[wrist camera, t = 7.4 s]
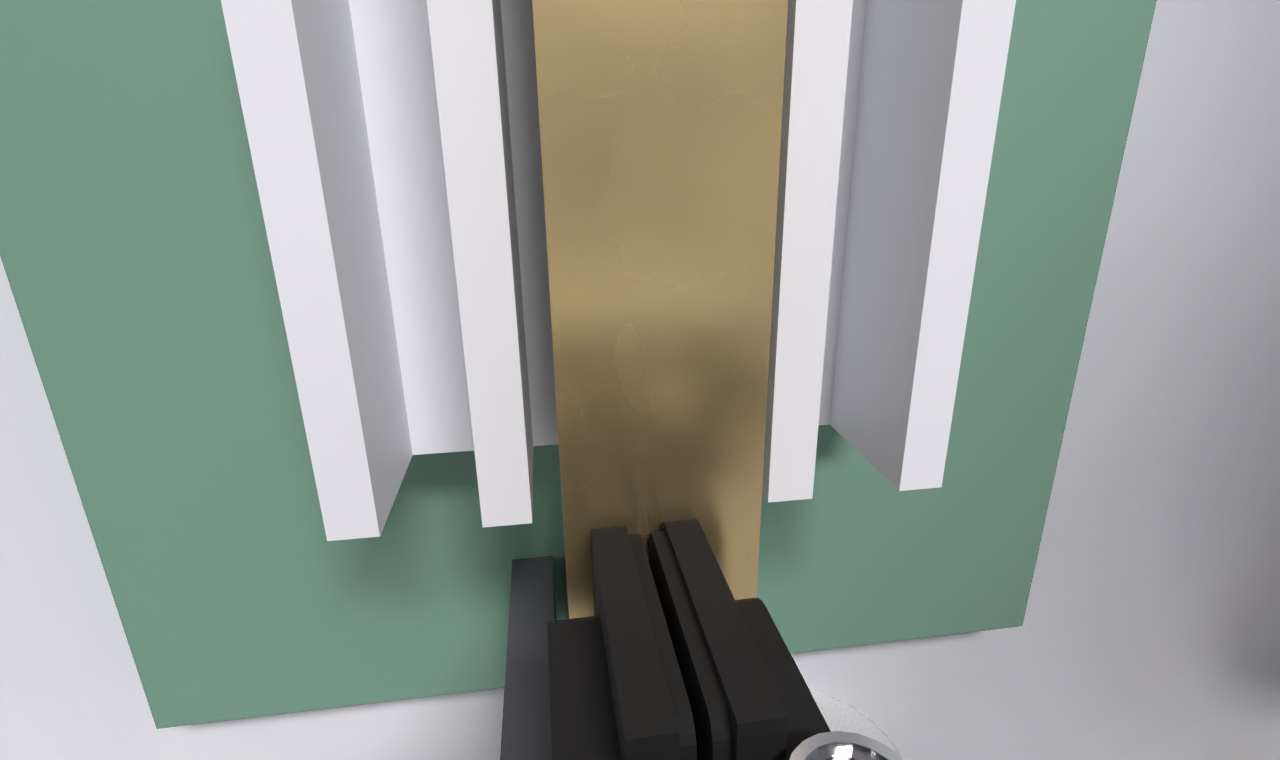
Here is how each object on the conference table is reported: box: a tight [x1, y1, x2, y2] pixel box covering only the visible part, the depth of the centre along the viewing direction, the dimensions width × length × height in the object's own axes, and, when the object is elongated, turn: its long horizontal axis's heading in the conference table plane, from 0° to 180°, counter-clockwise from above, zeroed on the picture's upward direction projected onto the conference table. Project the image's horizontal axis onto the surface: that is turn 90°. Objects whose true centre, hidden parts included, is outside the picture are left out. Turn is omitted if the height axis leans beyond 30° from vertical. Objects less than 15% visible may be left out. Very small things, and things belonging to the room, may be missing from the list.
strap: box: [532, 0, 788, 619], centre depth 9 cm, size 23×3×2 cm, turn 1°
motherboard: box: [0, 0, 1157, 760], centre depth 12 cm, size 28×24×8 cm
